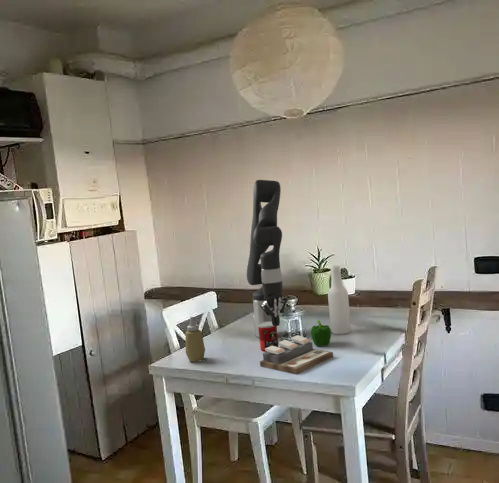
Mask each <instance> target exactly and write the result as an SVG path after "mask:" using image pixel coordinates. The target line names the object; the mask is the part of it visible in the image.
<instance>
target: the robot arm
mask: <svg viewBox="0 0 499 483" xmlns="http://www.w3.org/2000/svg"><path fill="white" fill-rule="evenodd" d="M252 190H253V192H252V193H253V194H252V195H253V200H252V202H253V203H252V219H251V220H252V221H251V228H250V245H249V256H248V260H247V261H248V262H247V266H246V267H247V269H246V280H247V282H248V284H249V285H250V286H258V285H261V287H260V288H259V289H258V290H256V291H254V292H253V293H252V295H251V296H252V303H253V314H254V315H253V316H252V322H253V331H254V336H255V337H256V338H259V330H258V324H260V323H262V322H272V325H273V326H277V327H278V326H280V323H281V321H280V315H281V313H283V312H284V310H285V308H286V305H287V302H288V298H286V297H284V296H283V291H284V288H283V278H282V276H283V275H282V270H281V263H280V262H281V261H280V250H281V244H282V241H283V240H282V239H283V231H282V230H281V228H280V227H279V226H278V210H279V207H280V199H281V193H282V192H281V184H280V182H279V181H277V180H267V179H257V180H256V181H255V182H254V185H253V189H252ZM262 203H266V204H265V205H264V206H263V207H262ZM270 246H273V247H272V249H271V250H269V251H267V250H268V249H269V247H270Z"/></svg>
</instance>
